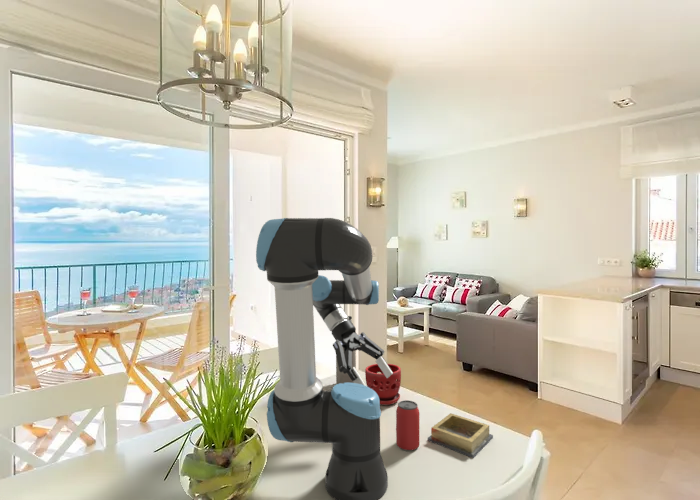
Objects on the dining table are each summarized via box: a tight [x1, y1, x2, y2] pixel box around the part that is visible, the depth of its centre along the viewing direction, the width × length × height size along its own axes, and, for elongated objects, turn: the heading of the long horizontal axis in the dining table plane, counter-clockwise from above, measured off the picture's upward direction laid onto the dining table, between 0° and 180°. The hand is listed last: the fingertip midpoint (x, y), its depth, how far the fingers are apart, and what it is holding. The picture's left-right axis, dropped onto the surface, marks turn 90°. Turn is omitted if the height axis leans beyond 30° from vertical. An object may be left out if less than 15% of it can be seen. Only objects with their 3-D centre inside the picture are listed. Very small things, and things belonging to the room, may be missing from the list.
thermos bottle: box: [335, 315, 357, 385], centre depth 158 cm, size 8×8×28 cm
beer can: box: [395, 399, 420, 452], centre depth 112 cm, size 7×7×12 cm
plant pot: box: [364, 363, 402, 406], centre depth 144 cm, size 13×13×12 cm
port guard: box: [427, 413, 494, 459], centre depth 115 cm, size 14×14×4 cm
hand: (377, 382), depth 119 cm, fingers open, 13 cm apart
